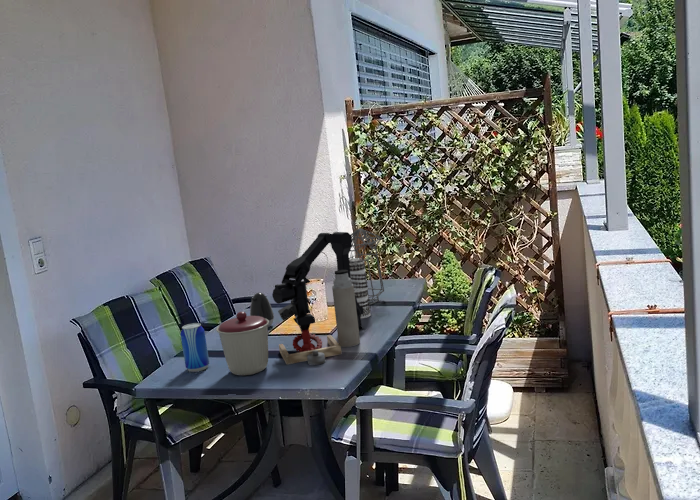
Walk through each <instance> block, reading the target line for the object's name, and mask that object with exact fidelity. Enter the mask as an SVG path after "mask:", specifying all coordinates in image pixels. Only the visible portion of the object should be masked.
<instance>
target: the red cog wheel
mask: <svg viewBox="0 0 700 500" xmlns="http://www.w3.org/2000/svg"><path fill="white" fill-rule="evenodd" d="M300 341H302V346H300V345H299V342H300ZM313 341H314V342H315V343H316V345H315V344H313V343H312V342H313ZM292 346H293V349H294V350H295V351H296V352H298V353H299V352H304V351H310V350H315V349H320V348H323V341H322V339H321V338H320V337H319V336H318V335H317V336H316V333H315V334H314V333H313V334H312V333H310V327H309V328H308V330H302V332H301V333H300V334H297V335H296V336H294V338H293V339H292Z"/></svg>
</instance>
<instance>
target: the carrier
mask: <svg viewBox="0 0 700 500" xmlns="http://www.w3.org/2000/svg"><path fill="white" fill-rule="evenodd" d="M326 341H327V344H328V345H329V346H326V347H322V348H320V349H315V350H310V351H304V352H299V351H298V352H295V353H289V352H288V349H287V348H286V346H285V345H284V344H283V343H279V344H278V348H279V354H280V355H281V357H282V359H283V360H284V363H285V364H286V365H291V364H292V365H293V364H296V363H297V364H298V363H302V362H306V361H307V364H308V365H310V366H318V365H322V364H324V363H325V362H326V358H329V357H332V356H338V355H342V354H343V353H342V346H340V345H339V341H337V340H336V339H335V338H334V337H333V336H332V335H331V334H328V335H326Z"/></svg>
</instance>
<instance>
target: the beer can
mask: <svg viewBox="0 0 700 500" xmlns="http://www.w3.org/2000/svg"><path fill="white" fill-rule="evenodd" d="M205 333H206V332H205V328H203V326H202V324H201V323H198V322H193V323H188V324H185V325H183V326H181V332H180V340H181V346H182V352H183V358H184V359H183V360H184V365H185V369H186V370H187V371H188V372H189V373H197V372H201V371H204V370H207V369H208V367H209V365H210V359H209V351H208V345H207V338H206V334H205Z"/></svg>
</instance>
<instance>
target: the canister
mask: <svg viewBox="0 0 700 500" xmlns="http://www.w3.org/2000/svg"><path fill="white" fill-rule="evenodd" d="M235 316H236V317H235V318H234V317H233V318H230V319H227V320H225V321H224V322H221V323H220V324H219V325H218V326H217V327H215V330H216V333H218V335H219V339H220V342H221V346H222V350H223V354H224V357H225V361H226V364H227V367H228V370H229V371H230V373H231V374H233V375H236V376H250V375H254V374H258V373H260V372H263V371H264V370H265V369H266V368H267V366H268V362H269V330H268V329H269V327H268V324H269V320H268V319H265V318H263V317H260V316H250V315H247V313H246V312H245V311H238V312H237V313H236V315H235Z"/></svg>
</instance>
